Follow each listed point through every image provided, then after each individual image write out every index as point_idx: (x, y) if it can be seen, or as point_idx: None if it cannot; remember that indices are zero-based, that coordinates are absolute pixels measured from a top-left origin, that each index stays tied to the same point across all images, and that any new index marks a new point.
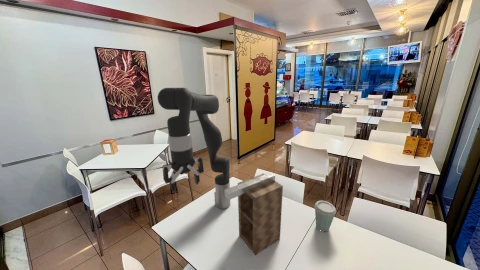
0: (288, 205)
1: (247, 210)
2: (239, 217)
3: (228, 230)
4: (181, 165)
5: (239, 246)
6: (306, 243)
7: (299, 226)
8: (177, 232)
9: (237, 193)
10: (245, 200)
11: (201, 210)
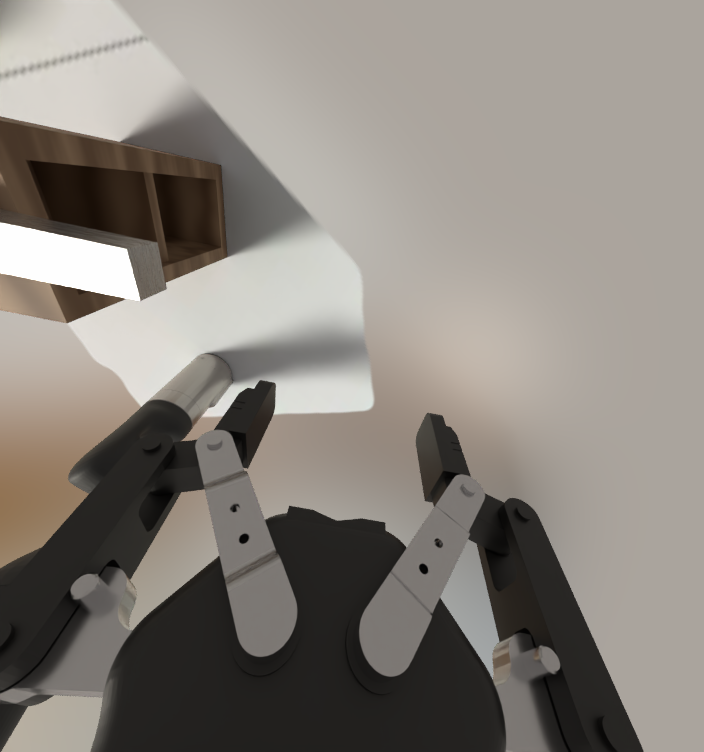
0: None
1: None
2: (189, 267)
3: (243, 293)
4: (365, 686)
5: (244, 227)
6: (30, 39)
7: None
8: (345, 373)
9: (80, 232)
10: None
11: None
